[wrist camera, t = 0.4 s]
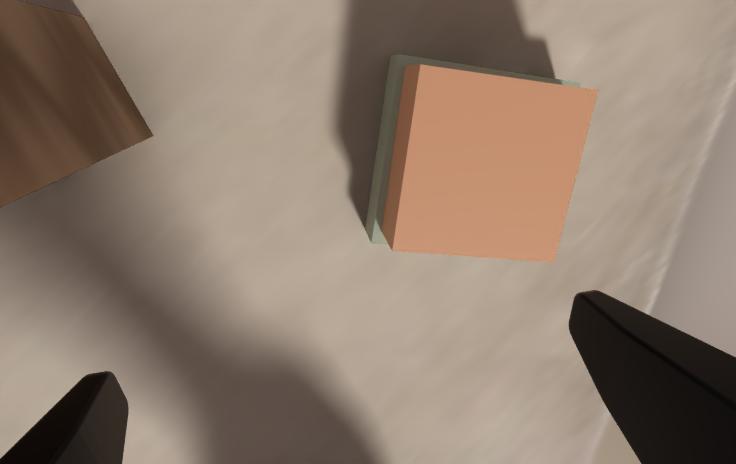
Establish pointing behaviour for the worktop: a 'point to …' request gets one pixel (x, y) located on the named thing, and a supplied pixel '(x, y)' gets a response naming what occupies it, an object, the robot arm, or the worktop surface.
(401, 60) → the tower base
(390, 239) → the tower top
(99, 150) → the walnut block
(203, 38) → the worktop surface
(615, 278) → the worktop surface
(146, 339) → the worktop surface
